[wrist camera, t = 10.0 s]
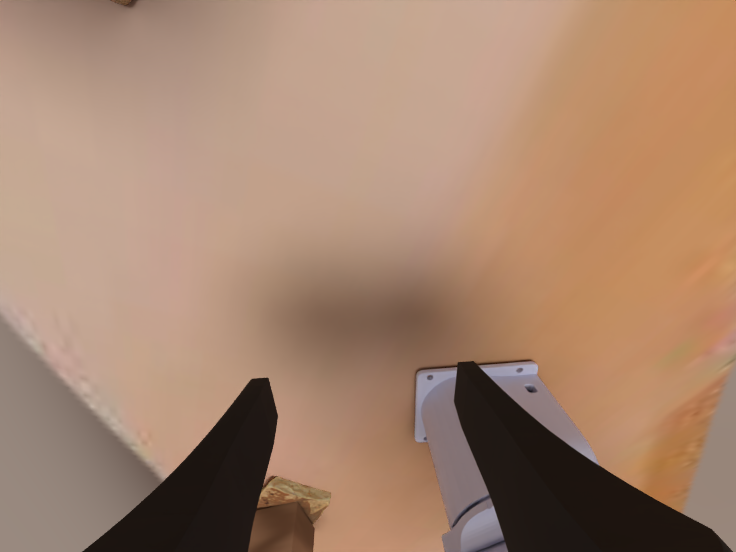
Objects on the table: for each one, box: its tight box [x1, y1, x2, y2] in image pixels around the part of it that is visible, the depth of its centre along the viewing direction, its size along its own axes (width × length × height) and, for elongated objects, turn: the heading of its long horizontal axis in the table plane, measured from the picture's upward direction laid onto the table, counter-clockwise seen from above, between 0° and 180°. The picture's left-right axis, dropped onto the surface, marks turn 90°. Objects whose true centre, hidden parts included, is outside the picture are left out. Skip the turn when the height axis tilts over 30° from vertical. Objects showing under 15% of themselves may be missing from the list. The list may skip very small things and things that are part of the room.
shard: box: [256, 476, 331, 525], centre depth 31 cm, size 11×8×2 cm
